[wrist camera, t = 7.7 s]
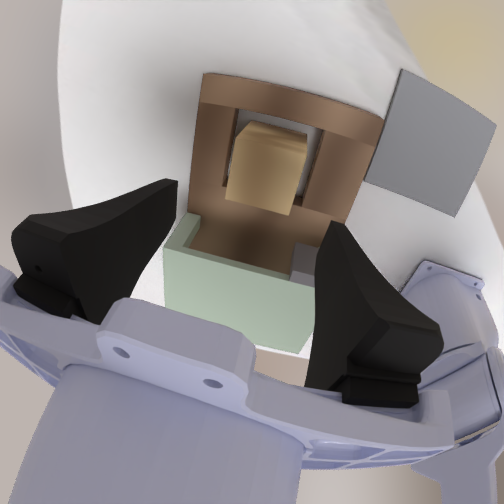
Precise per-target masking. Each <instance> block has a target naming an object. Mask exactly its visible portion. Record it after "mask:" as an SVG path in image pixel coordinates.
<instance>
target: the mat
mask: <svg viewBox="0 0 504 504" xmlns="http://www.w3.org/2000/svg"><path fill="white" fill-rule="evenodd" d="M495 129H496V124H495V123H493V122H492V121H491V120H489V119H488V118H487V117H485V116H483V115H482V114H481V113H479V112H478V111H476V110H475V109H473V108H472V107H470V106H469V105H467V104H466V103H464V102H463V101H461V100H459V99H458V98H456V97H454V96H453V95H451V94H449V93H448V92H446V91H444V90H443V89H441V88H439V87H437V86H435V85H433V84H432V83H430V82H428V81H426V80H424V79H422V78H420V77H418V76H416V75H414V74H412V73H410V72H408V71H406V70H404V69H402V70H401V73H400V76H399V80H398V83H397V86H396V89H395V93H394V96H393V99H392V102H391V105H390V108H389V111H388V114H387V117H386V120H385V123H384V126H383V128H382V131H381V134H380V137H379V140H378V142H377V145H376V148H375V150H374V153H373V156H372V158H371V161H370V164H369V166H368V169H367V171H366V174H365V176H364V181H365V182H368V183H370V184H373V185H376V186H379V187H381V188H384V189H387V190H390V191H392V192H395V193H397V194H400V195H403V196H405V197H408V198H410V199H413V200H415V201H418V202H420V203H422V204H425V205H427V206H430V207H432V208H434V209H436V210H439V211H441V212H443V213H446V214H448V215H450V216H452V217H454V218H455V216H456V214H457V212H458V211H459V209H460V207H461V205H462V203H463V201H464V199H465V197H466V195H467V193H468V191H469V189H470V187H471V185H472V183H473V181H474V179H475V177H476V175H477V172H478V170H479V168H480V166H481V164H482V161H483V159H484V157H485V154H486V152H487V150H488V147H489V145H490V142H491V140H492V137H493V134H494V132H495Z"/></svg>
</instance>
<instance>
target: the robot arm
mask: <svg viewBox="0 0 504 504" xmlns="http://www.w3.org/2000/svg"><path fill="white" fill-rule="evenodd" d="M177 188H178V181H176V180H171V179H167V178H165V179H162V180H159V181H156V182H153V183H151V184H148V185H146V186H144V187H141V188H139V189H136V190H134V191H132V192H129V193H126V194H124V195H121V196H119V197H116V198H113V199H110V200H107V201H104V202H101V203H98V204H94V205H90V206H86V207H82V208H78V209H73V210H68V211H62V212H55V213H46V214H32V215H29V216H28V217H27V218H26V219H25V220H24V221H23V222H21V223H20V224H19V225H18V226H17V227H16V228H15V229H14V230H13V232H12V236H11V242H12V246H13V250H14V253H15V255H16V258H17V260H18V263H19V265H20V267H21V270H22V272H23V274H22V275H21V276H20V277H19V278H18V279H17V277H16V276H15V274H14V273H12V272H11V271H10V270H8V269H6V268H4V267H3V266H1V265H0V347H1V348H3V349H4V350H5V351H6V352H8V353H9V354H10V355H11V356H13V357H14V358H15V359H16V360H18V361H19V362H20V363H21V364H23V365H24V366H26V367H27V368H28V369H29V370H31V371H32V372H33V373H35V374H36V375H37V376H39V377H40V378H41V379H43V380H44V381H46V382H47V383H49V384H50V385H51V386H53V387H55V390H54V392H53V394H52V396H51V398H50V400H49V402H48V405H47V406H46V408H45V411H44V413H43V415H42V417H41V419H40V421H39V424H38V426H37V428H36V430H35V432H34V435H33V437H32V440H31V442H30V444H29V447H28V449H27V451H26V454H25V457H24V459H23V462H22V464H21V467H20V470H19V472H18V475H17V478H16V481H15V484H14V487H13V490H12V493H11V496H10V499H9V502H8V504H296V498H297V493H298V486H299V479H300V473H301V469H309V470H339V469H361V468H375V467H387V466H396V465H407V464H411V469H412V470H413V471H415V472H416V473H419V474H421V475H423V476H425V477H428V478H430V479H432V480H434V481H437V482H438V483H440V484H441V496H442V504H497V483H496V470H495V461H496V459H497V458H498V457H499V455H500V454H501V453H502V451H503V450H504V355H503V353H502V351H501V349H499V348H498V331H497V328H496V325H495V323H494V320H493V318H492V315H491V313H490V310H489V308H488V306H487V304H486V301H485V299H484V297H483V295H482V293H481V289H482V288H483V287H484V285H485V283H484V281H483V280H481V279H478V278H475V277H472V276H470V275H467V274H464V273H461V272H458V271H456V270H453V269H450V268H447V267H444V266H441V265H438V264H435V263H432V262H430V261H423V262H422V263H421V264H420V265H419V267H418V268H417V270H416V271H415V273H414V274H413V276H412V277H411V279H410V280H409V282H408V283H407V285H406V286H405V287H404V289H403V290H402V292H401V293H399V292H398V291H397V290H396V289H395V288H394V287H393V286H392V285H391V284H390V283H389V282H388V281H387V280H386V279H385V278H384V277H383V276H382V275H381V273H380V272H379V271H378V270H377V269H376V267H375V266H374V265H373V264H372V262H371V261H370V260H369V258H368V257H367V256H366V254H365V253H364V252H363V250H362V249H361V247H360V246H359V244H358V243H357V241H356V240H355V239H354V237H353V236H352V234H351V233H350V231H349V230H348V228H347V227H346V226H345V225H344V224H343V223H339V222H336V221H333V220H331V221H330V224H329V226H328V229H327V231H326V234H325V236H324V238H323V241H322V243H321V245H320V248H319V250H318V253H317V255H316V263H315V272H314V285H315V324H314V332H313V340H312V347H311V354H310V360H309V365H308V371H307V376H306V381H305V385H304V387H301V386H296V385H290V384H287V383H284V382H282V381H279V380H277V379H274V378H271V377H269V376H267V375H264V374H262V373H259V372H257V371H254V365H255V360H256V350H255V345H254V344H253V343H252V342H251V341H250V340H249V339H248V338H247V337H246V336H244V335H243V334H242V333H241V332H239V331H236V330H234V329H232V328H230V327H227V326H225V325H222V324H218V323H215V322H211V321H208V320H204V319H201V318H197V317H194V316H191V315H187V314H184V313H181V312H178V311H174V310H171V309H168V308H165V307H162V306H159V305H156V304H153V303H150V302H147V301H144V300H139V299H133V298H130V296H131V294H132V291H133V289H134V287H135V285H136V283H137V281H138V279H139V277H140V275H141V273H142V272H143V270H144V268H145V267H146V265H147V264H148V262H149V261H150V260H151V258H152V257H153V255H154V254H155V252H156V251H157V249H158V248H159V247H160V245H161V244H162V242H163V241H164V239H165V238H166V236H167V235H168V233H169V231H170V229H171V227H172V225H173V223H174V221H175V219H176V206H177ZM429 266H430V267H429ZM428 267H429V268H428ZM499 420H500V422H499V424H497V425H496V426H495V427H493V428H491V429H489V430H487V431H485V432H483V433H481V434H478V435H476V436H474V437H472V438H470V439H467V440H464V441H462V442H460V443H457V444H455V443H454V441H455V440H458V439H460V438H463V437H465V436H467V435H470V434H472V433H474V432H476V431H479V430H481V429H483V428H485V427H487V426H489V425H491V424H493V423H495V422H497V421H499Z"/></svg>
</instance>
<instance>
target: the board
mask: <svg viewBox="0 0 504 504" xmlns="http://www.w3.org/2000/svg"><path fill="white" fill-rule="evenodd" d="M239 109H244V110H249V111H253V112H258V113H263V114H267V115H271V116H275V117H280V118H284V119H288V120H291V121H295V122H299V123H303V124H306V125H310V126H313V127H317V128H320V129H323V132H322V135H321V139H320V142H319V145H318V149H317V152H316V155H315V158H314V161H313V165H312V168H311V171H310V174H309V177H308V181H307V184H306V187H305V190H304V193H303V196H302V198H301V197H297V196H295V197H294V200H293V203H292V206H291V210H290V213H289V216H288V215H284V214H280V213H277V212H273V211H269V210H266V209H262V208H258V207H254V206H250V205H246V204H242V203H239V202H235V201H231V200H227V199H225V195H226V189H227V183H228V179H227V174H228V168H229V163H230V157H231V151H232V145H233V140H234V134H235V129H236V123H237V118H238V113H239ZM384 121H385V120H383V119H382V118H381V117H380V116H377V115H375V114H372V113H370V112H367V111H364V110H361V109H359V108H356V107H353V106H350V105H347V104H344V103H341V102H338V101H335V100H332V99H329V98H326V97H322V96H319V95H315V94H312V93H308V92H305V91H301V90H297V89H293V88H289V87H285V86H281V85H276V84H272V83H267V82H262V81H257V80H252V79H247V78H241V77H235V76H229V75H222V74H215V73H207V74H203V79H202V86H201V92H200V99H199V106H198V113H197V120H196V128H195V136H194V145H193V154H192V163H191V174H190V184H189V196H188V209H187V212H188V213H192V214H196V215H200V216H201V220H200V228H199V230H198V232H197V233H196V235H195V237H194V239H193V240H192V242H191V244H190V246H189V247H188V248H189V249H193V250H197V251H200V252H204V253H208V254H212V255H215V256H219V257H223V258H226V259H230V260H234V261H238V262H241V263H245V264H249V265H253V266H257V267H260V268H264V269H268V270H272V271H276V272H279V273H283V274H287V275H290V266H291V257H292V251H293V248H294V245H295V243H296V242H299V243H302V244H306V245H310V246H313V247H317V248H318V247H320V245H321V243H322V241H323V238H324V236H325V234H326V231H327V229H328V226H329V224H330V221H331V220H333V221H336V222H339V223H343V224H345V221H346V219H347V217H348V214H349V212H350V210H351V207H352V205H353V202H354V200H355V198H356V195H357V193H358V190H359V188H360V185H361V183H362V180H363V178H364V175H365V173H366V170H367V168H368V165H369V163H370V160H371V157H372V155H373V152H374V149H375V147H376V144H377V141H378V138H379V136H380V133H381V130H382V127H383V124H384Z"/></svg>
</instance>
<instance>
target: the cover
mask: <svg viewBox="0 0 504 504" xmlns="http://www.w3.org/2000/svg"><path fill="white" fill-rule="evenodd" d="M200 220H201V216H200V215H196V214H192V213H188V212H187V213H186V214H185V216H184V217H183V218H182V220H181V221H180V223H179V224H178V226H177V227H176V229H175V230H174V232H173V233H172V235H171V236H170V237H169V239H168V240H167V242H166V243H165V245H164V246H163V272H164V295H165V308H168V309H171V310H174V311H178V312H181V313H184V314H187V315H191V316H194V317H197V318H201V319H204V320H208V321H211V322H215V323H218V324H222V325H225V326H227V327H230V328H232V329H234V330H236V331H239V332H241V333H242V334H243V335H244V336H246V337H247V338H248V339H249V340H250V341H251V342H252V343H253V344H256V345H260V346H265V347H269V348H273V349H278V350H282V351H286V352H291V353H296V354H299V352H300V351H301V349H302V348H303V346H304V345H305V343H306V341H307V340H308V338H309V337H310V335H311V333H312V332H313V330H314V324H315V285H314V272H315V263H316V255H317V253H318V250H319V248H320V247H318V248H317V247H313V246H310V245H306V244H302V243H299V242H296V243H295V245H294V248H293V251H292V257H291V266H290V275H287V274H283V273H279V272H276V271H272V270H268V269H264V268H260V267H257V266H253V265H249V264H245V263H241V262H238V261H234V260H230V259H226V258H223V257H219V256H215V255H212V254H208V253H204V252H200V251H197V250H193V249H189V248H188V247H189V246H190V244H191V242H192V240H193V239H194V237H195V235H196V233H197V232H198V230H199V228H200Z"/></svg>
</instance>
